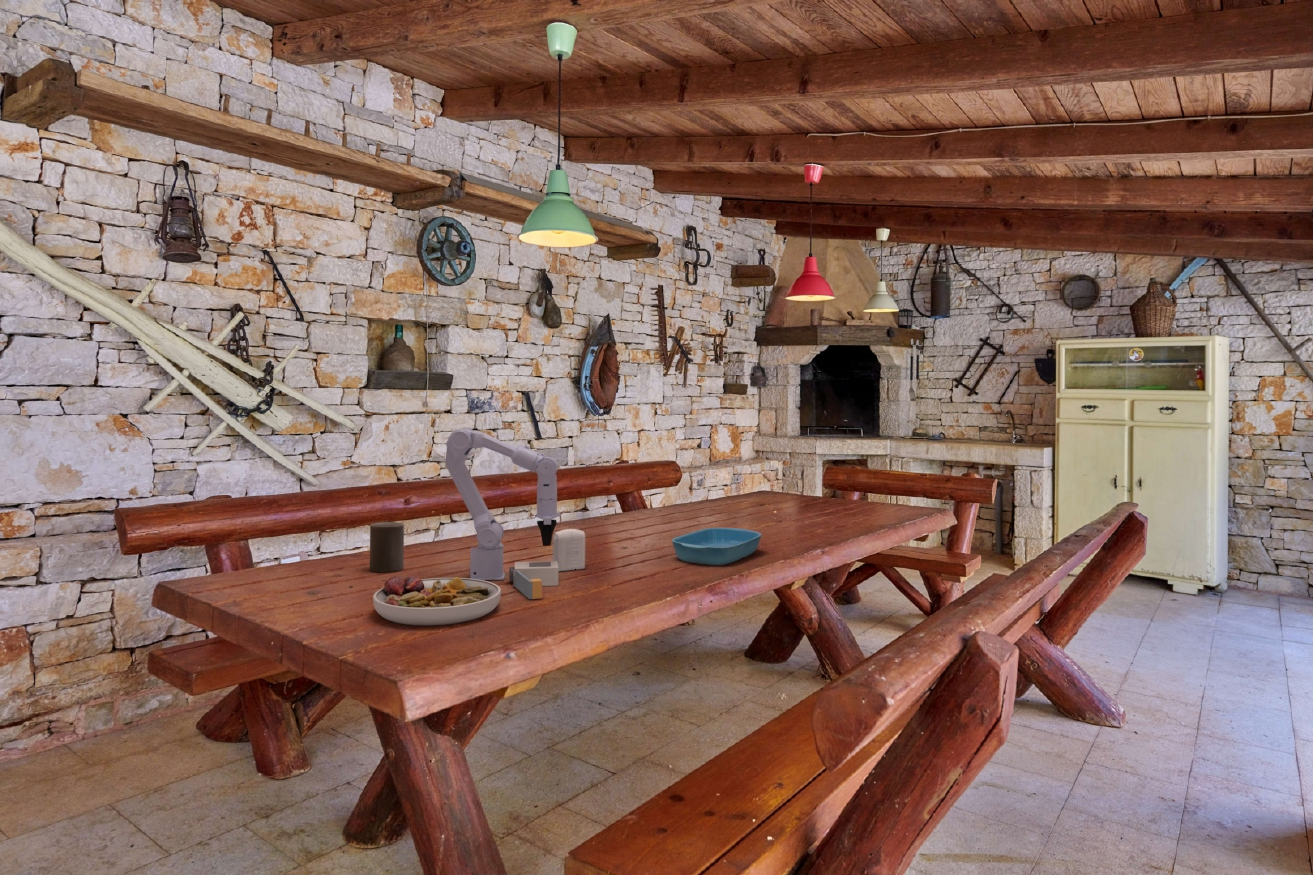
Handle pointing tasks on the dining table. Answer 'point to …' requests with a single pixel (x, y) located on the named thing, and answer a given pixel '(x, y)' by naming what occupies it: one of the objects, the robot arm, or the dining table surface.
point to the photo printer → (569, 549)
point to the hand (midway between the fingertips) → (546, 545)
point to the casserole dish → (716, 545)
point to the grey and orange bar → (527, 585)
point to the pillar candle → (386, 547)
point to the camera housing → (538, 571)
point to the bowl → (435, 600)
